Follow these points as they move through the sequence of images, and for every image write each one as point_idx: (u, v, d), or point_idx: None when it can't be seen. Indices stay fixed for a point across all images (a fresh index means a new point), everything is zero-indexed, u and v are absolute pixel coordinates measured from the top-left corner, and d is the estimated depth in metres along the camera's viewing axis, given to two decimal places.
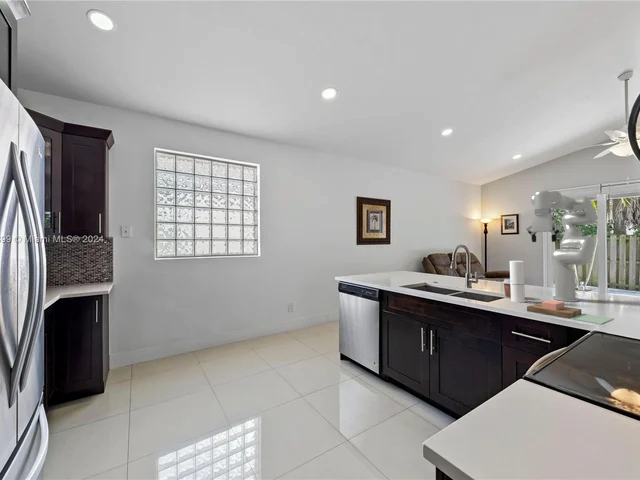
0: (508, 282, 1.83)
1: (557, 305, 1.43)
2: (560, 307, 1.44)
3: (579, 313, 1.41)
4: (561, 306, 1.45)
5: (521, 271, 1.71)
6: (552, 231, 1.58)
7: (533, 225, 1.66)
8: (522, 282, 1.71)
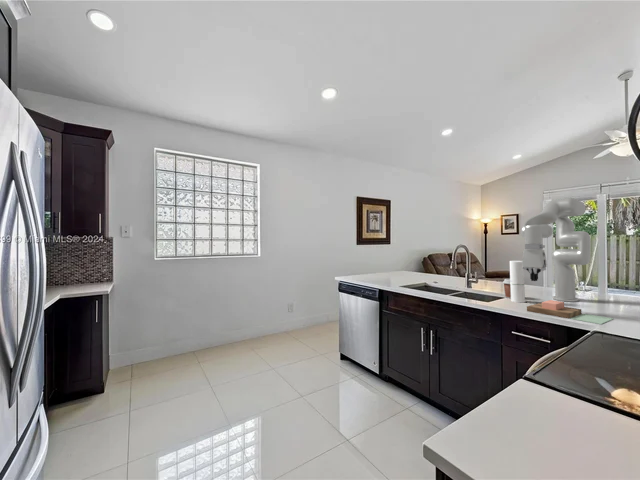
0: (508, 282, 1.83)
1: (557, 305, 1.43)
2: (560, 307, 1.44)
3: (579, 313, 1.41)
4: (561, 306, 1.45)
5: (521, 271, 1.71)
6: (536, 270, 1.52)
7: (523, 260, 1.56)
8: (522, 282, 1.71)
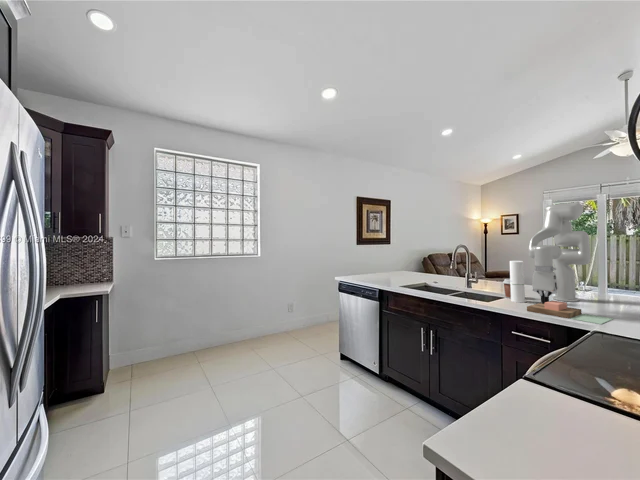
0: (508, 282, 1.83)
1: (560, 305, 1.42)
2: (563, 307, 1.43)
3: (579, 313, 1.41)
4: (563, 306, 1.44)
5: (521, 271, 1.71)
6: (547, 293, 1.48)
7: (533, 282, 1.52)
8: (522, 282, 1.71)
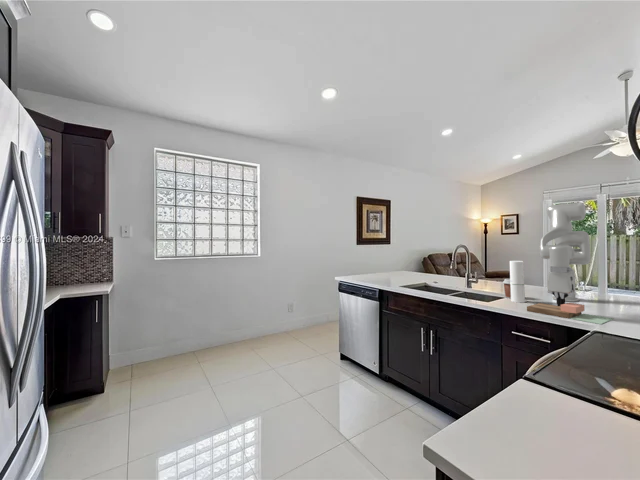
0: (508, 282, 1.83)
1: (577, 308, 1.36)
2: (580, 310, 1.37)
3: (579, 313, 1.41)
4: (581, 309, 1.37)
5: (521, 271, 1.71)
6: (563, 295, 1.42)
7: (548, 283, 1.46)
8: (522, 282, 1.71)
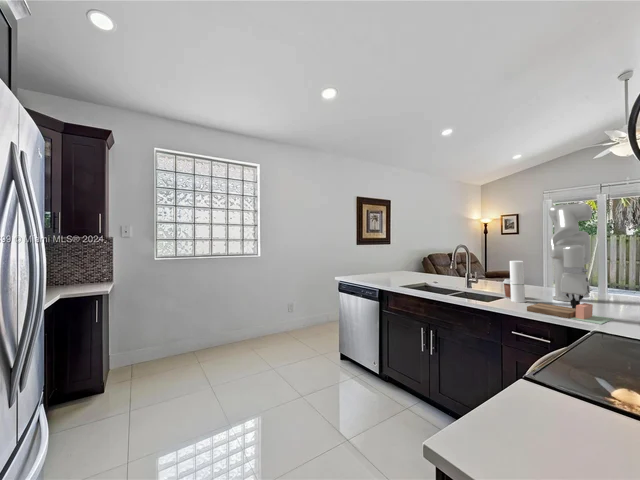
0: (508, 282, 1.83)
1: None
2: None
3: None
4: None
5: (521, 271, 1.71)
6: (578, 297, 1.36)
7: (562, 285, 1.41)
8: (522, 282, 1.71)
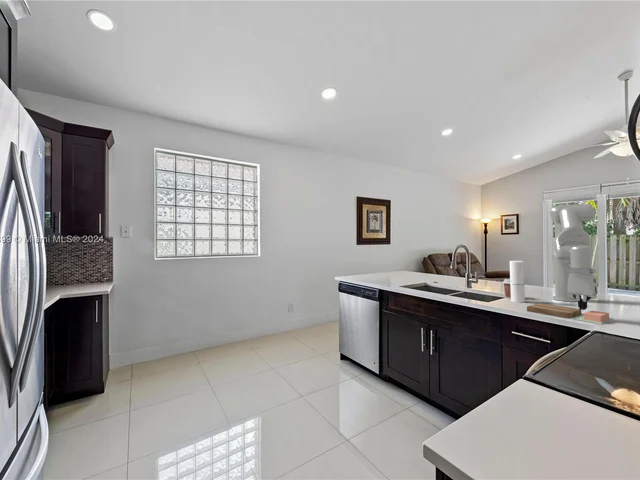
0: (508, 282, 1.83)
1: None
2: None
3: (579, 313, 1.41)
4: None
5: (521, 271, 1.71)
6: (585, 298, 1.34)
7: (569, 285, 1.39)
8: (522, 282, 1.71)
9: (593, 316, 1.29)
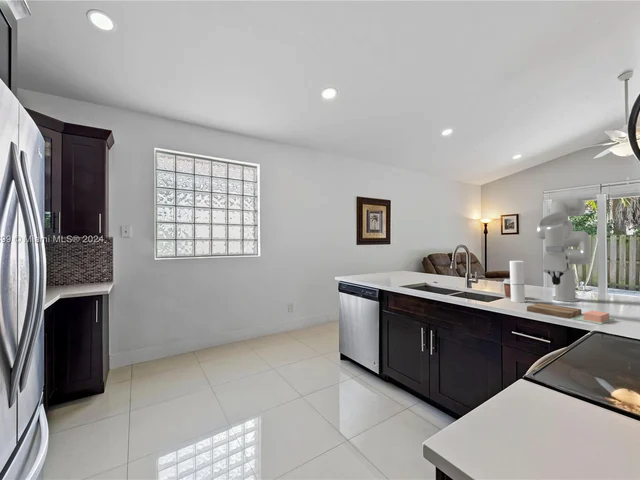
0: (508, 282, 1.83)
1: None
2: None
3: (579, 313, 1.41)
4: None
5: (521, 271, 1.71)
6: (558, 273, 1.45)
7: (544, 263, 1.49)
8: (522, 282, 1.71)
9: (593, 316, 1.29)
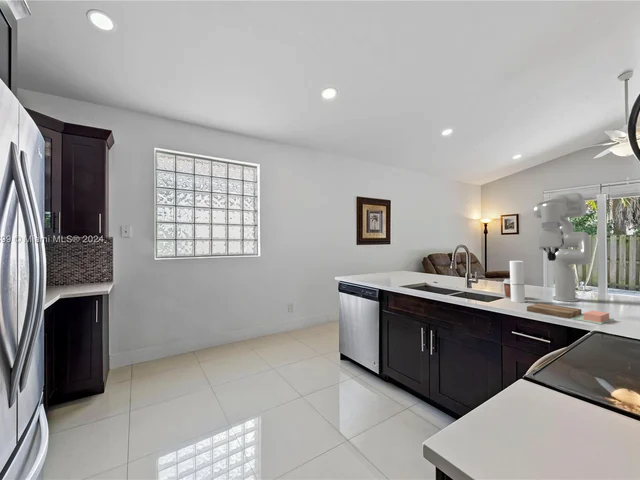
0: (508, 282, 1.83)
1: None
2: None
3: (579, 313, 1.41)
4: None
5: (521, 271, 1.71)
6: (554, 249, 1.47)
7: (540, 239, 1.52)
8: (522, 282, 1.71)
9: (593, 316, 1.29)
